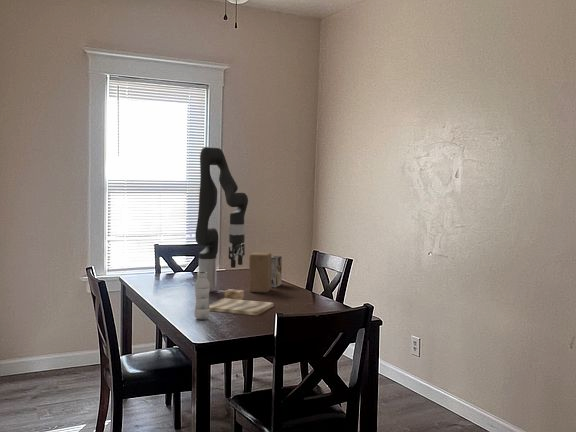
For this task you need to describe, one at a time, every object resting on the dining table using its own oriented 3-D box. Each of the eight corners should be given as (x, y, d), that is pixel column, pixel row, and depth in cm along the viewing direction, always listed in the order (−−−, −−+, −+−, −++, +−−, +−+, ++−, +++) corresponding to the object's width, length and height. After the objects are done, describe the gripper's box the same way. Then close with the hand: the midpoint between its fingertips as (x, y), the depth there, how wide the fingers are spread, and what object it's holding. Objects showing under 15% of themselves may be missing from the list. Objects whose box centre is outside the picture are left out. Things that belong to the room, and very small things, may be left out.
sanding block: (224, 299, 287) (224, 290, 286) (229, 297, 291) (229, 289, 291) (239, 301, 284) (239, 292, 283) (243, 299, 288) (243, 290, 288)
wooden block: (267, 293, 303) (267, 255, 301) (248, 292, 305) (248, 254, 303) (271, 289, 313) (271, 252, 311) (253, 288, 315) (253, 251, 313)
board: (204, 310, 264) (204, 306, 264) (223, 301, 283) (223, 298, 283) (257, 315, 255) (257, 312, 255) (273, 305, 274) (273, 302, 274)
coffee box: (270, 283, 329) (271, 255, 328) (281, 284, 327) (282, 256, 326) (265, 286, 320) (265, 257, 319) (276, 287, 318) (276, 258, 317)
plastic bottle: (194, 317, 251) (194, 271, 249) (210, 317, 251) (210, 271, 250) (193, 321, 244) (193, 274, 243) (209, 321, 245) (210, 274, 243)
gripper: (235, 231, 293) (235, 263, 295) (223, 234, 280) (223, 267, 281) (249, 232, 291) (249, 264, 292) (238, 235, 278) (237, 268, 279)
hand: (236, 266), depth 287 cm, fingers open, 8 cm apart
